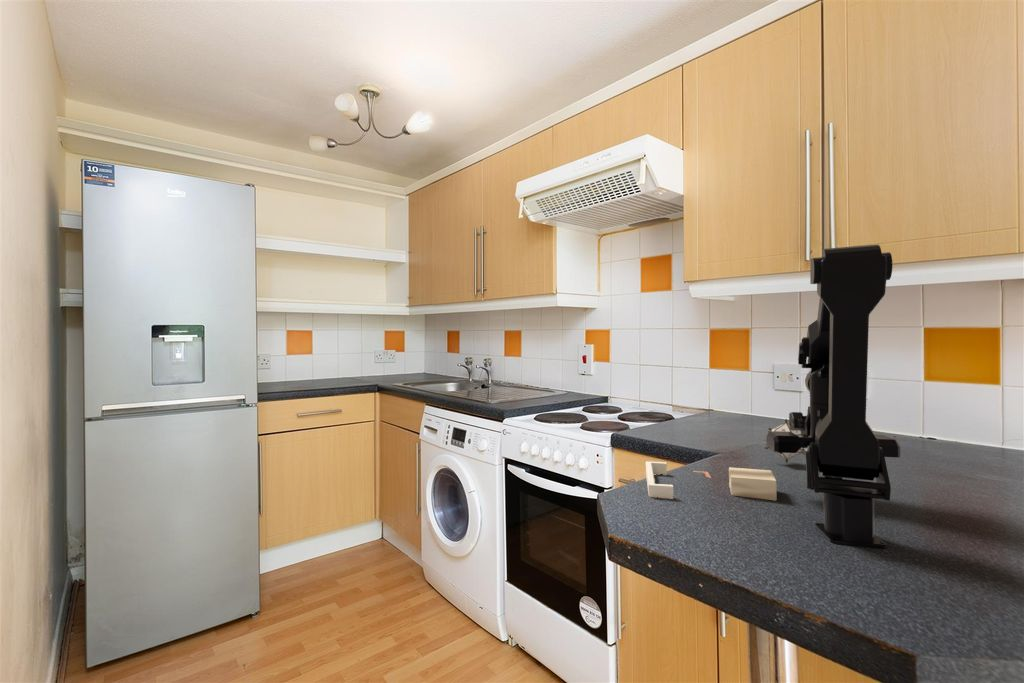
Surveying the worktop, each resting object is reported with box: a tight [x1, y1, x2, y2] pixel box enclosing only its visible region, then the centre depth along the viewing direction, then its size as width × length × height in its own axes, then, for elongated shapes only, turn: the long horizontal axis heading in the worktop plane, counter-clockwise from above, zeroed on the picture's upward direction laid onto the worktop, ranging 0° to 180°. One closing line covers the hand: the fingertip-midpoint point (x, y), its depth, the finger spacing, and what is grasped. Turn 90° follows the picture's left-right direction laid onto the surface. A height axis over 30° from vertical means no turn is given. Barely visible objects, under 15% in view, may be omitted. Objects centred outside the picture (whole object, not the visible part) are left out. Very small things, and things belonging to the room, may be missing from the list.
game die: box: [764, 418, 805, 464], centre depth 109 cm, size 9×8×10 cm
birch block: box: [728, 466, 777, 502], centre depth 87 cm, size 7×7×4 cm
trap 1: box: [693, 470, 712, 479], centre depth 99 cm, size 5×8×1 cm, turn 76°
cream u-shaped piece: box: [645, 461, 674, 500], centre depth 91 cm, size 17×4×3 cm, turn 166°
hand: (830, 493), depth 84 cm, fingers closed
